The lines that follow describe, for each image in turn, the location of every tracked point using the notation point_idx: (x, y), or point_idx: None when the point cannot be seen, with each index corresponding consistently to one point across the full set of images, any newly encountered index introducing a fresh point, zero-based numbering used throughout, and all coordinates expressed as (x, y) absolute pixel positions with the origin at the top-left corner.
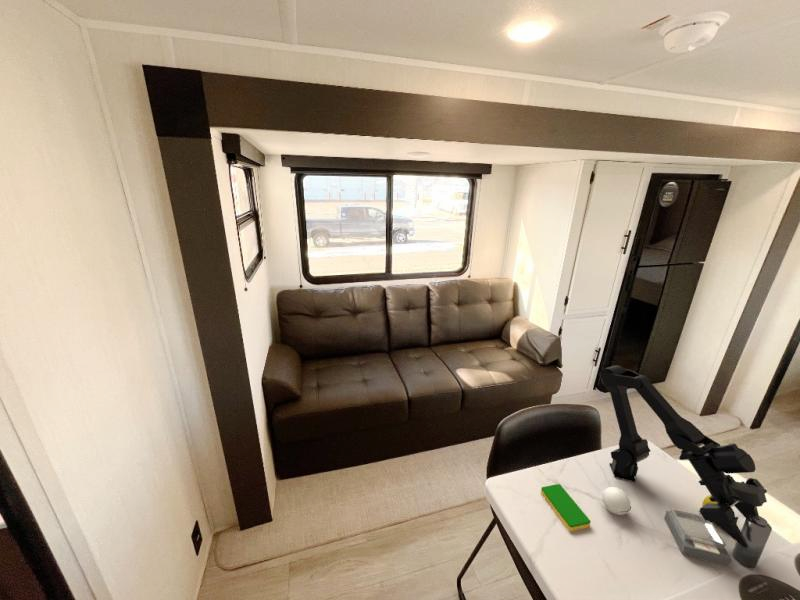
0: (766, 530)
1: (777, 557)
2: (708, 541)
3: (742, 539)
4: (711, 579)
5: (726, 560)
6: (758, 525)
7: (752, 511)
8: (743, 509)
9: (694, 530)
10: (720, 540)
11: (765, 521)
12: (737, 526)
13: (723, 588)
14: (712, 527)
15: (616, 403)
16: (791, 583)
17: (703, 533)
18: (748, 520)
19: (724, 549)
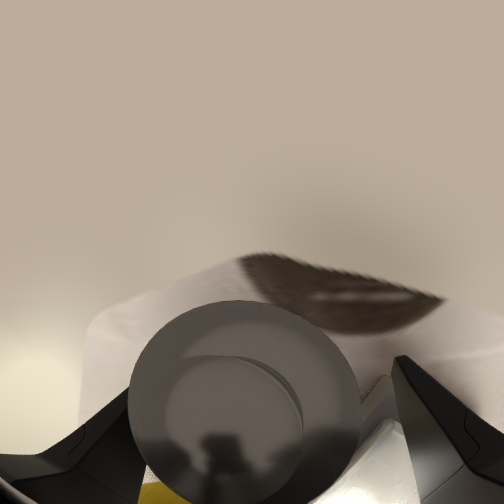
0: (291, 323)
1: (150, 329)
2: None
3: (437, 384)
4: (479, 352)
5: None
6: (301, 404)
7: (91, 469)
8: (116, 499)
9: (402, 501)
10: (377, 447)
11: (180, 384)
12: (467, 451)
13: (474, 322)
14: (324, 500)
15: None
16: (226, 265)
17: (383, 487)
18: (322, 485)
19: (376, 417)
